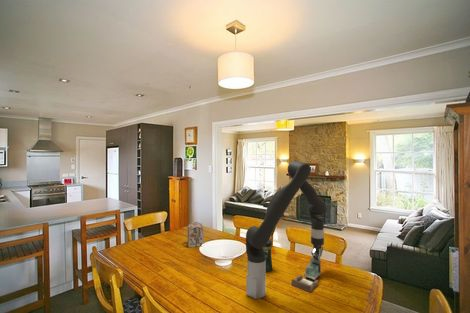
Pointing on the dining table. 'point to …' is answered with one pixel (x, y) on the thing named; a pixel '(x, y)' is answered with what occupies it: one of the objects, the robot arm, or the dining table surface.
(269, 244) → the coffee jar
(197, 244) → the decorative jar
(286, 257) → the dining table surface
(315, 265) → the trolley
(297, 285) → the bay
